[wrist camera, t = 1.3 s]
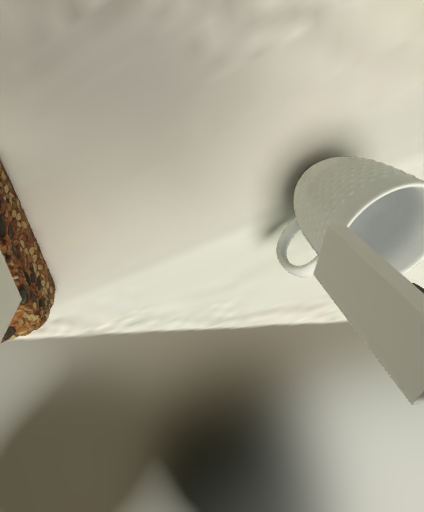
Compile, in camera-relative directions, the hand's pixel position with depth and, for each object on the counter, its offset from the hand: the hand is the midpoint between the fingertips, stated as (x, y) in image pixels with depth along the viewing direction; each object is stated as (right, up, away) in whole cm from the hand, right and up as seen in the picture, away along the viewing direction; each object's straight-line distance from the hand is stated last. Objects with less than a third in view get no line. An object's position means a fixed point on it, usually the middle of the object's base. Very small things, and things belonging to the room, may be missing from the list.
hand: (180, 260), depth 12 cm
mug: (+14, +8, +25) cm, 30 cm away
